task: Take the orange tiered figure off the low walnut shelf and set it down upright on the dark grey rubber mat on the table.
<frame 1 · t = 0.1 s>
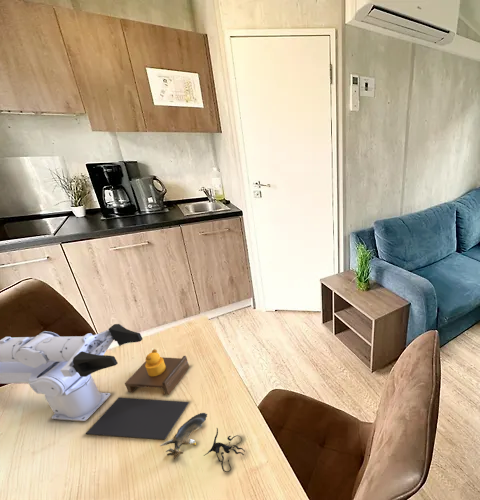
hand: (128, 348, 66), 22 cm above the table, tool horizontal, fingers open, 7 cm apart
mat: (140, 417, 73), on the table
shelf: (160, 379, 84), on the table
orange tiered figure: (157, 370, 83), point 3 cm above the table, touching shelf
eagle figurine: (188, 442, 68), on the table
creature: (229, 454, 66), on the table
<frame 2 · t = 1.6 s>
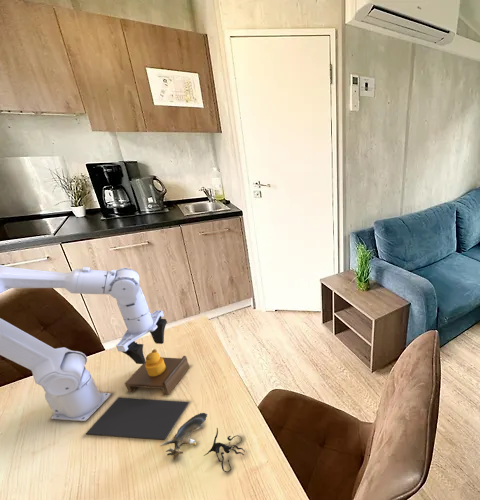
hand: (150, 352, 80), 10 cm above the table, tool pointing down, fingers open, 7 cm apart
nothing on the table moved.
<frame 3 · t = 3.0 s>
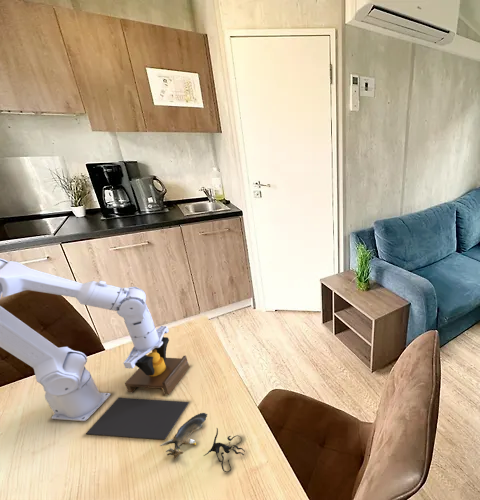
hand: (156, 367, 83), 5 cm above the table, tool pointing down, fingers closed on orange tiered figure, 4 cm apart
orange tiered figure: (157, 370, 83), point 4 cm above the table, touching gripper, shelf
everything else where it was.
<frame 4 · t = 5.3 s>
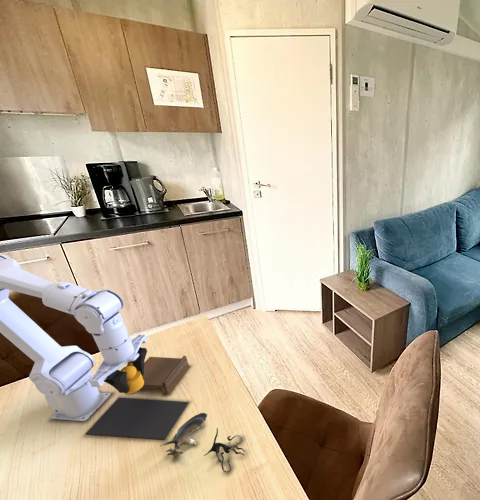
hand: (132, 383, 71), 10 cm above the table, tool pointing down, fingers closed on orange tiered figure, 4 cm apart
orange tiered figure: (133, 386, 71), point 9 cm above the table, touching gripper
everything else where it was.
when the fingers open (2 cm above the table, at t = 7.9 s): orange tiered figure stays where it is, resting on mat.
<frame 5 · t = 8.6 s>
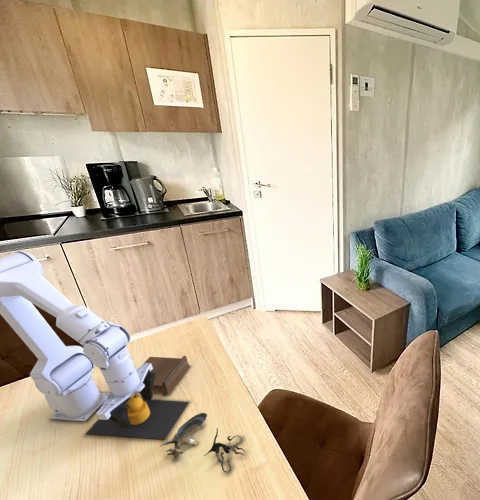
hand: (137, 411, 72), 2 cm above the table, tool pointing down, fingers open, 7 cm apart
orange tiered figure: (140, 416, 73), resting on mat
everything else where it was.
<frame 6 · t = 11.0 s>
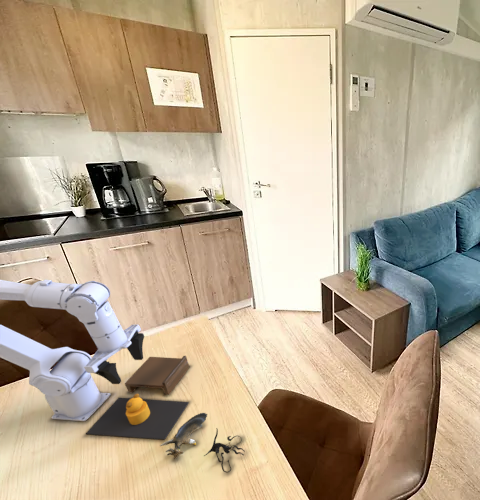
hand: (128, 370, 74), 10 cm above the table, tool pointing down, fingers open, 7 cm apart
nothing on the table moved.
at the end: orange tiered figure inside the target area (0.1 cm from its centre), resting on mat; orange tiered figure tilted 0°; orange tiered figure touching mat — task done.
